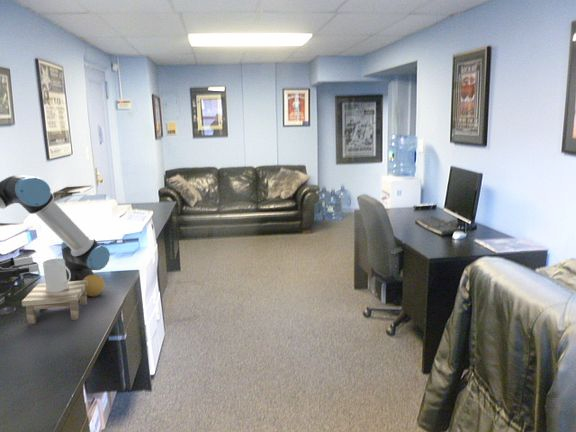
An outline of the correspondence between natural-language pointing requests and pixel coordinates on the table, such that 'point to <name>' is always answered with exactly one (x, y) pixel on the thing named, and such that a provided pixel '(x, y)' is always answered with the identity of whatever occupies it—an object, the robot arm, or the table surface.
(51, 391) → the table surface
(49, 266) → the mug
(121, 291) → the table surface
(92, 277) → the stress ball
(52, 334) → the table surface
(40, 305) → the footstool
